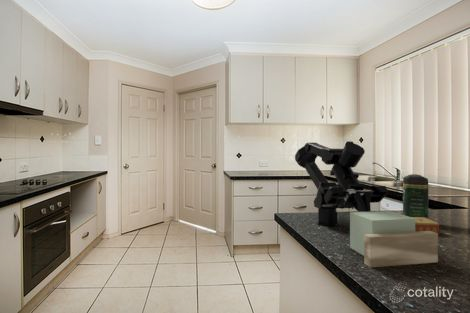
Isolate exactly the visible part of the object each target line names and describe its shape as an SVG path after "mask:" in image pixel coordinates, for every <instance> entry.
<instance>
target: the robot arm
mask: <svg viewBox="0 0 470 313" xmlns="http://www.w3.org/2000/svg"><path fill="white" fill-rule="evenodd" d="M365 153H366V152H365V149H364V147H362V146H360V145H359V144H358V143H357V144H356V143H354V141H352V140H350V141H346V142H345V144H344V147H343V148H330V147H328V146H324V145H322V144H319V143H318V142H306V143H305V144H304V146H302V147H300V148H298V150H297V151H296V153H295V155H294V160H295V162H296V163H297V165H298V166H299V167H302V168H303V169H305V170H306V173H307V174H308V176H309V178H310V179H311V181H312V182H313V184H314V186H315V187H316V189H317V190H316V191H317V192H316V196H315V198H314V200H313V207H315V208H317V211H318V212H317V213H318V216H317V218H318V220H317V224H316V225H320V226H327V227H337V225H338V224H339V211H337V209H341V210H344V209H352V208H354V209H355V210H356V212H368V211H371V204H372V203H373V204H374V203H376V204H377V203H379V202H381V201H382V200H383V199H384V198H385V197H386V196H387V194H388V193H389V192H390V190H388V188H387V186H385V185H372V186H370V188H369V189H365V187H366V184H365V183H361V182H360V180H359V177H360V174H358V173H355V172H354V170H353V169H352V168H355V167H357V165H358V164H359V163H360V161H361V159H363V156H364V155H365ZM318 157H320V158H321V162H323V163H324V165H327V166H331V165H332V166H331V170H330V174H329V175H330V176H335V179H336V181H337V182H338V183H337V182H333V181H332V182H331V181H328V180H327V177H325V175H324V173H323V172H322V171H321V169H320V168H319V166H318V165H317V163H316V159H317V158H318Z"/></svg>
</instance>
